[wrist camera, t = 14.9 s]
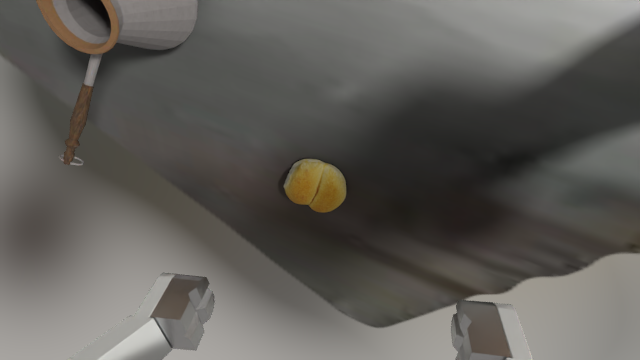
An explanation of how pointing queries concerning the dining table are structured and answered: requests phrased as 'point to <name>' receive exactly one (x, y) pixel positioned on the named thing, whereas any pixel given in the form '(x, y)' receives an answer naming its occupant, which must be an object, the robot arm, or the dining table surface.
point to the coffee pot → (114, 37)
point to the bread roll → (316, 185)
